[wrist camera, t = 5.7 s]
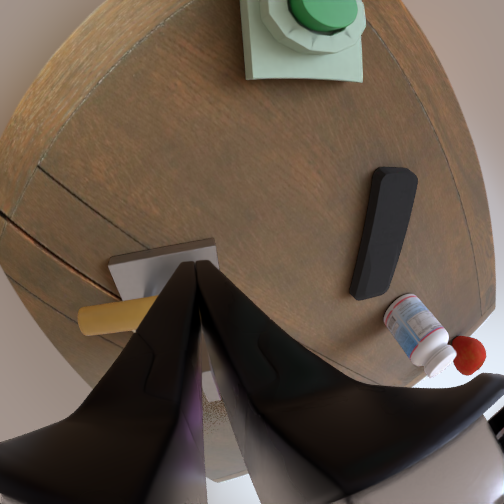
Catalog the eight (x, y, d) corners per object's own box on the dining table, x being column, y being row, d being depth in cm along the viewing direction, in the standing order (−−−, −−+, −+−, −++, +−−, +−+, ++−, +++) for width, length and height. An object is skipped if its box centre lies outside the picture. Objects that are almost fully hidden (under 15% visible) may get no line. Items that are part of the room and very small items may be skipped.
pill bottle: (397, 325, 38) (435, 379, 28) (374, 321, 35) (416, 384, 26) (421, 295, 35) (466, 348, 26) (401, 288, 33) (451, 349, 24)
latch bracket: (110, 256, 21) (85, 349, 13) (214, 237, 23) (235, 327, 15) (150, 346, 28) (151, 427, 20) (230, 333, 29) (250, 413, 21)
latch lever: (80, 293, 12) (75, 336, 10) (193, 273, 13) (200, 319, 11) (147, 368, 20) (150, 395, 19) (218, 357, 21) (224, 385, 20)
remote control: (370, 165, 23) (347, 296, 30) (382, 170, 21) (354, 306, 29) (408, 166, 24) (381, 288, 31) (420, 171, 22) (389, 297, 30)
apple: (471, 325, 51) (495, 355, 42) (450, 350, 54) (471, 380, 46) (461, 324, 47) (487, 357, 39) (437, 351, 51) (461, 384, 42)
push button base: (236, -37, 11) (248, -60, 8) (338, -25, 12) (366, -39, 9) (245, 80, 17) (260, 77, 13) (347, 81, 18) (377, 83, 15)
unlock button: (287, -19, 10) (298, -28, 9) (341, -10, 11) (355, -17, 9) (292, 29, 12) (303, 24, 11) (345, 35, 13) (360, 32, 11)
